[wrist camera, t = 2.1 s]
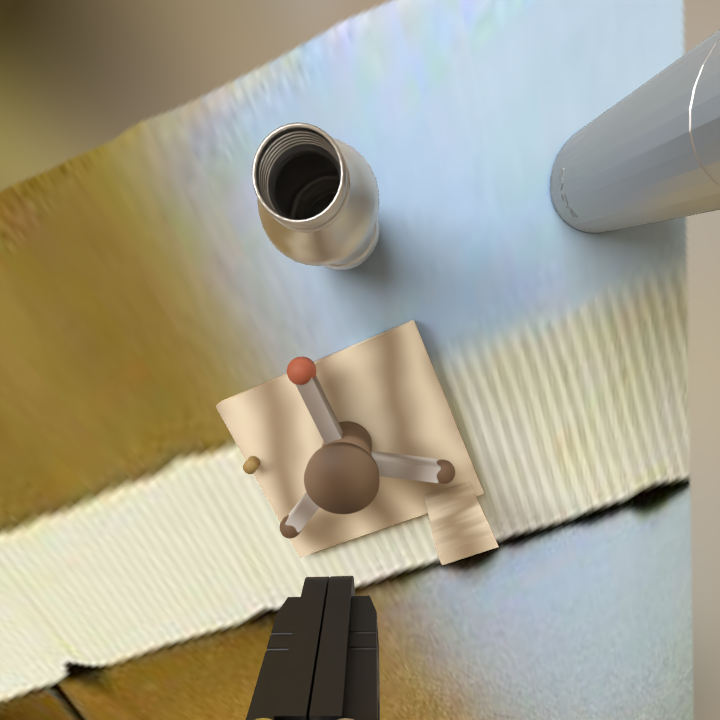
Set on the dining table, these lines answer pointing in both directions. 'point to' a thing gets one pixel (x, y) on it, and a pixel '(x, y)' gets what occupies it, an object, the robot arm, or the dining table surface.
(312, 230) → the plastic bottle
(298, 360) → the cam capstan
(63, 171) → the dining table surface
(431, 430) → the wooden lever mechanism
